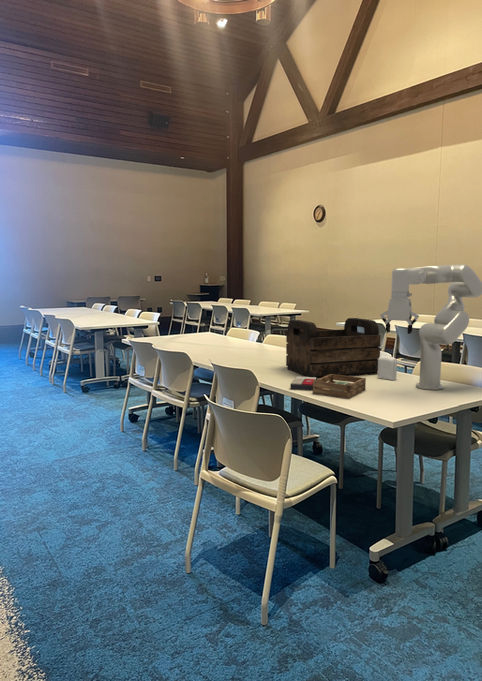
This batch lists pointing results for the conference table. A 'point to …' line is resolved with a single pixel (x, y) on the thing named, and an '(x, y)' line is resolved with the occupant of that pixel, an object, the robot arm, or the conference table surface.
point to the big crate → (339, 386)
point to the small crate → (340, 383)
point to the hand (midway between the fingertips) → (398, 332)
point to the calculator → (303, 383)
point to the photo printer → (387, 368)
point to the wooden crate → (333, 349)
